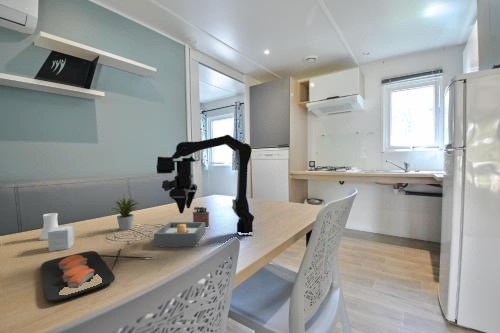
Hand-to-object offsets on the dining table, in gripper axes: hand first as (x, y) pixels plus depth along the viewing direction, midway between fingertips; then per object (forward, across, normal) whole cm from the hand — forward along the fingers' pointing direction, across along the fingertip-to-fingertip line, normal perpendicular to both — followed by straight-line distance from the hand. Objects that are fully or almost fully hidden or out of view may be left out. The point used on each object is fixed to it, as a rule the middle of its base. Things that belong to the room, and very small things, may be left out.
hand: (184, 210), depth 96 cm
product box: (+12, +10, -44) cm, 47 cm away
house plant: (+12, -12, -32) cm, 37 cm away
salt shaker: (+12, -1, -58) cm, 60 cm away
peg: (+12, 0, -1) cm, 12 cm away
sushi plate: (+12, +24, -17) cm, 32 cm away
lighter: (+12, -16, +3) cm, 21 cm away
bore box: (+12, 0, -1) cm, 12 cm away
